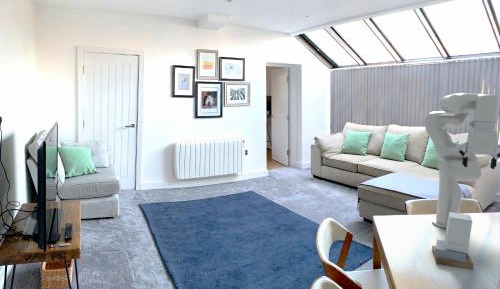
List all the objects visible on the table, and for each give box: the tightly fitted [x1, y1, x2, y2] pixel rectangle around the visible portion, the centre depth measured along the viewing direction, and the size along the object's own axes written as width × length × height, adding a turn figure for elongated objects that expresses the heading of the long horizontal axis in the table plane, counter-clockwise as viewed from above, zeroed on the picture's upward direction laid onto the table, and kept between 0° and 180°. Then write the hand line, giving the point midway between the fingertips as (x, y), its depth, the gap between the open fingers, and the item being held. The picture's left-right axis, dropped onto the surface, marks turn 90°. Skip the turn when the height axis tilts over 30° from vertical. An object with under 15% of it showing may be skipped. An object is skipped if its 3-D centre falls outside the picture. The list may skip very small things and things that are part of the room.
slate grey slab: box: [435, 238, 466, 263], centre depth 140 cm, size 10×10×3 cm
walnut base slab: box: [431, 245, 475, 271], centre depth 140 cm, size 12×12×3 cm
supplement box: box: [444, 212, 473, 254], centre depth 137 cm, size 7×7×13 cm
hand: (478, 167), depth 148 cm, fingers open, 9 cm apart
